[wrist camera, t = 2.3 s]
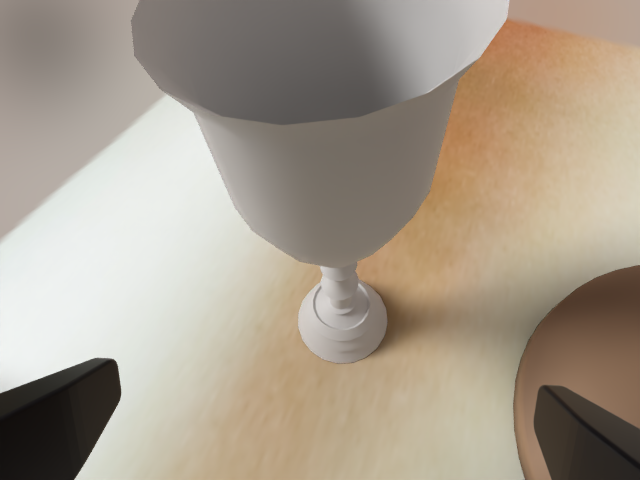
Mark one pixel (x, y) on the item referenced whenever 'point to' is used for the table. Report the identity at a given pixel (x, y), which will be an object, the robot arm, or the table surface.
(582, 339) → the serving board
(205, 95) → the chalice
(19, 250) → the table surface
